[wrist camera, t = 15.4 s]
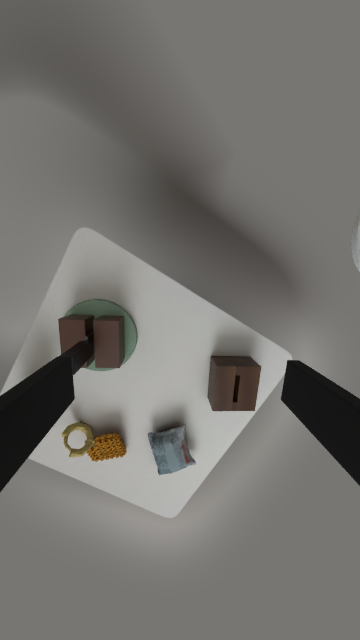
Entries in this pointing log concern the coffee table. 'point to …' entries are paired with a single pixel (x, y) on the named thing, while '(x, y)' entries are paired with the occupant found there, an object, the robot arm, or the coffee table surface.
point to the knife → (80, 352)
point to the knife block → (233, 383)
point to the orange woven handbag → (95, 444)
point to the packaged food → (170, 450)
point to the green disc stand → (100, 333)
